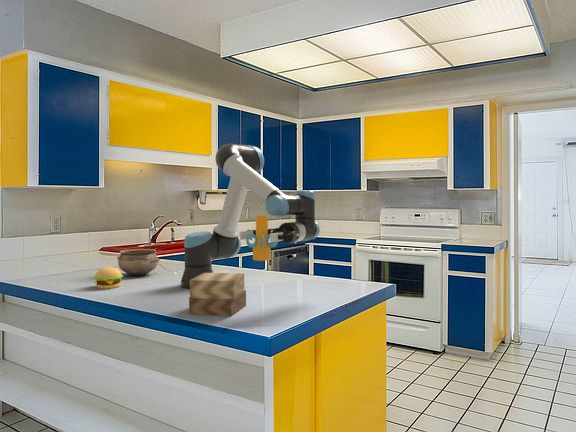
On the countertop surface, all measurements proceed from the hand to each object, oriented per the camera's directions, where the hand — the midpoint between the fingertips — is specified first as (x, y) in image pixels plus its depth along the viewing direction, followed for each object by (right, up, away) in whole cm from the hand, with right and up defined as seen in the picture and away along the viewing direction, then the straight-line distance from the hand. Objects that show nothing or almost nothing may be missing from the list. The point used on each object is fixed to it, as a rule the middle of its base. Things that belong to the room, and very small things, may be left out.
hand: (255, 236), depth 151 cm
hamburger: (-68, -24, +49) cm, 87 cm away
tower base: (-13, -26, +8) cm, 30 cm away
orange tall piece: (+2, -8, +3) cm, 9 cm away
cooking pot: (-64, -23, +78) cm, 103 cm away
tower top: (-13, -20, +8) cm, 25 cm away
